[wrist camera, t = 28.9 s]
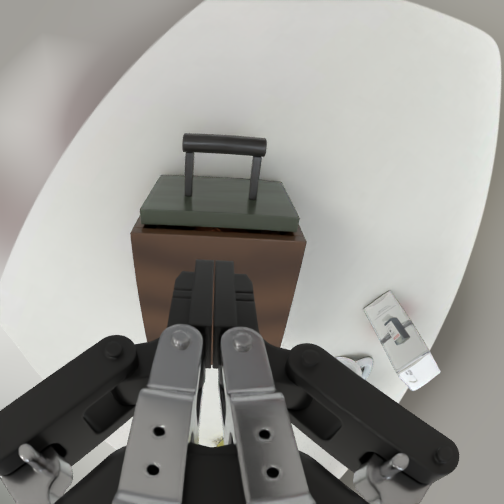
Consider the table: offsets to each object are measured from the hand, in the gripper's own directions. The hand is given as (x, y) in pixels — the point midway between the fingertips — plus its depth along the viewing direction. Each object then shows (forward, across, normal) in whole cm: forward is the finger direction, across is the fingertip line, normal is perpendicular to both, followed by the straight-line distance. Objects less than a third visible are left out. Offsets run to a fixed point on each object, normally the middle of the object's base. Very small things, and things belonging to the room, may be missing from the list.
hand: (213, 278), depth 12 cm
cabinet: (+18, 0, +10) cm, 21 cm away
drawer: (+17, 0, +6) cm, 18 cm away
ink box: (+18, -25, +19) cm, 37 cm away
